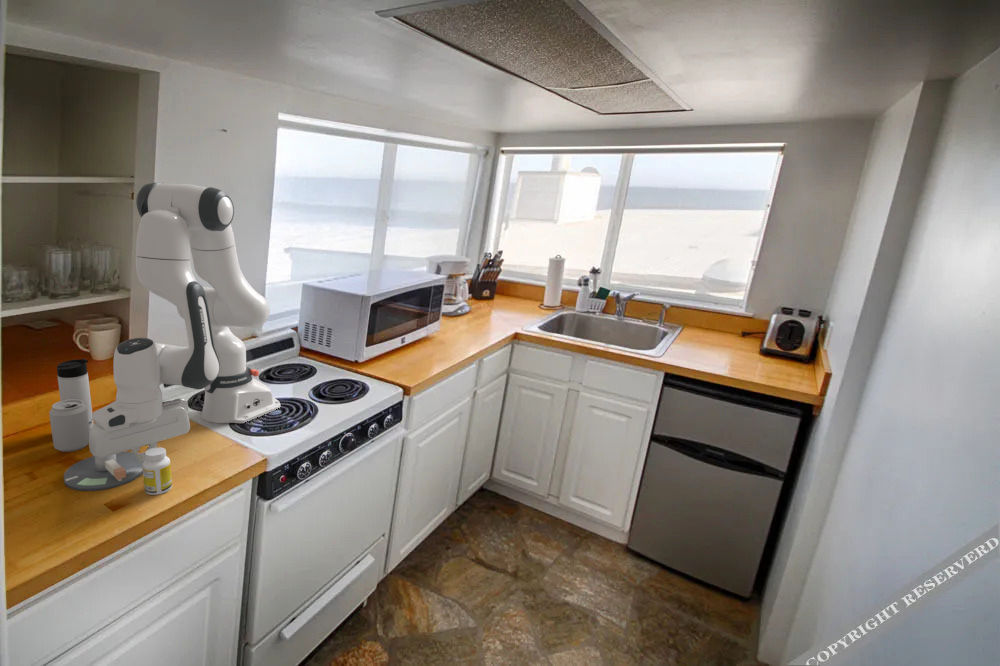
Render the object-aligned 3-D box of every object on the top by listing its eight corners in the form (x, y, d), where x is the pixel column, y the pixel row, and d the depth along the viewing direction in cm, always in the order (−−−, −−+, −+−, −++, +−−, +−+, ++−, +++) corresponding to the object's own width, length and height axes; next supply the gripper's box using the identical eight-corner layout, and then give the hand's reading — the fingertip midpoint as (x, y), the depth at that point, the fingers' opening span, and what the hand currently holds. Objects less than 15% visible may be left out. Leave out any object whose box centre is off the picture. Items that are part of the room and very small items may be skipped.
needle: (93, 466, 125) (91, 453, 124) (113, 461, 129) (111, 447, 128) (112, 484, 119) (110, 470, 118) (132, 478, 123) (130, 464, 122)
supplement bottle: (171, 480, 126) (169, 443, 123) (172, 492, 121) (169, 454, 119) (144, 485, 123) (141, 448, 120) (144, 497, 118) (140, 459, 116)
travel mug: (99, 430, 144) (92, 362, 139) (71, 438, 139) (62, 367, 134) (89, 423, 148) (81, 356, 142) (60, 431, 142) (51, 361, 137)
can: (70, 455, 131) (65, 411, 128) (46, 449, 133) (40, 406, 130) (98, 442, 139) (94, 400, 135) (75, 437, 140) (70, 395, 137)
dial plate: (131, 449, 137) (130, 444, 137) (159, 472, 128) (158, 467, 128) (53, 472, 124) (53, 467, 124) (79, 499, 116) (78, 494, 115)
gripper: (181, 392, 133) (184, 442, 137) (83, 415, 117) (89, 470, 120) (193, 400, 130) (196, 450, 133) (94, 424, 113) (100, 481, 117)
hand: (144, 460), depth 127 cm, fingers closed
